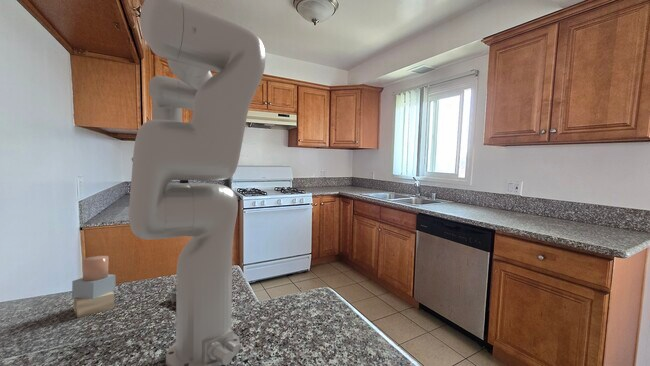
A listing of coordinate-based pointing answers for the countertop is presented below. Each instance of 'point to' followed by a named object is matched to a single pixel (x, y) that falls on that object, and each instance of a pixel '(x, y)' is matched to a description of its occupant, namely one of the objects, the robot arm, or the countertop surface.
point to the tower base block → (93, 304)
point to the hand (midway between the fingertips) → (166, 189)
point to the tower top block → (93, 287)
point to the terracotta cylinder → (95, 268)
